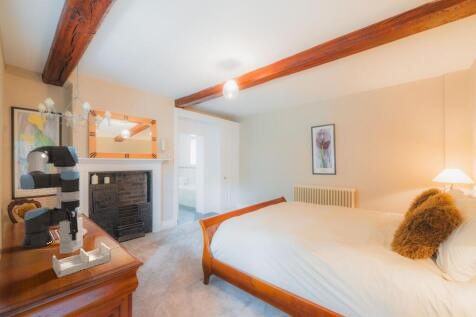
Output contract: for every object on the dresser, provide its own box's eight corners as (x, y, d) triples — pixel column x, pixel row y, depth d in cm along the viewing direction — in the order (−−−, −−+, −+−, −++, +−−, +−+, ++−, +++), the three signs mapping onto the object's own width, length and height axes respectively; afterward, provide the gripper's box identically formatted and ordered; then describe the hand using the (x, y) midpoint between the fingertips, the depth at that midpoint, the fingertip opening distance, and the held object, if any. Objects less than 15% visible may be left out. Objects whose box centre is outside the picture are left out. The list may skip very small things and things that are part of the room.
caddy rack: (52, 268, 107) (52, 255, 108) (102, 253, 124) (102, 242, 124) (58, 278, 98) (58, 264, 98) (110, 260, 115) (110, 249, 115)
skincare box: (70, 247, 112) (70, 217, 112) (84, 246, 112) (83, 216, 112) (58, 254, 103) (58, 221, 103) (73, 253, 104) (72, 221, 104)
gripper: (56, 198, 112) (56, 240, 112) (66, 204, 97) (66, 252, 97) (74, 196, 118) (74, 236, 118) (85, 201, 103) (85, 247, 103)
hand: (70, 243), depth 107 cm, fingers closed on skincare box, 10 cm apart
